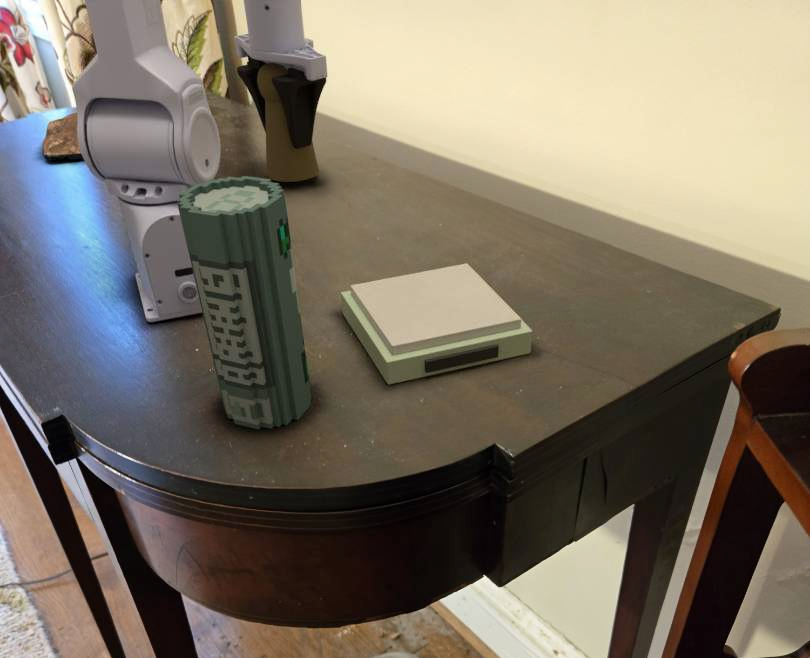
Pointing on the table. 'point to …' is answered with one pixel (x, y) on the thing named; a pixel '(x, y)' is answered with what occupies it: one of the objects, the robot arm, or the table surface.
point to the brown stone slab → (62, 139)
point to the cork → (282, 134)
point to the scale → (433, 323)
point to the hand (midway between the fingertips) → (289, 140)
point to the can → (248, 297)
